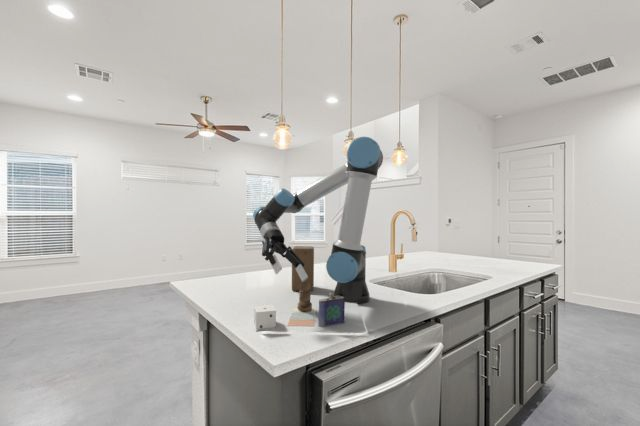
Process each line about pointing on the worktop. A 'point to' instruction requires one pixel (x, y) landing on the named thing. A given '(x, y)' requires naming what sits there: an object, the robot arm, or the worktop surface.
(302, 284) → the pawn
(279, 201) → the robot arm
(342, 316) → the flask
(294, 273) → the wooden block
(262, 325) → the white die
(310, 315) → the board
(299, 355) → the worktop surface
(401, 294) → the worktop surface
